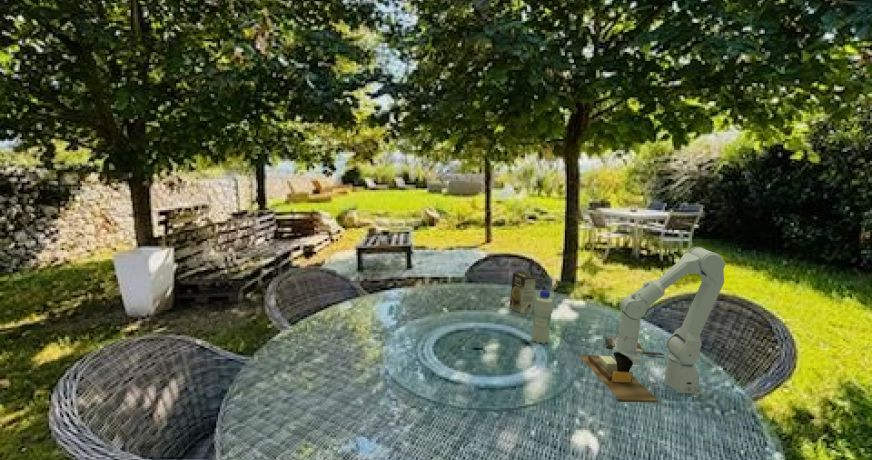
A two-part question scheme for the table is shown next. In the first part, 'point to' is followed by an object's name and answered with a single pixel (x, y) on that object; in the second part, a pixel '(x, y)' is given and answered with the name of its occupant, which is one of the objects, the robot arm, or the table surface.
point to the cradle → (619, 383)
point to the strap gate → (622, 376)
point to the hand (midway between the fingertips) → (622, 376)
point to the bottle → (542, 318)
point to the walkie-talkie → (639, 351)
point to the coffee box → (522, 292)
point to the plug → (608, 363)
